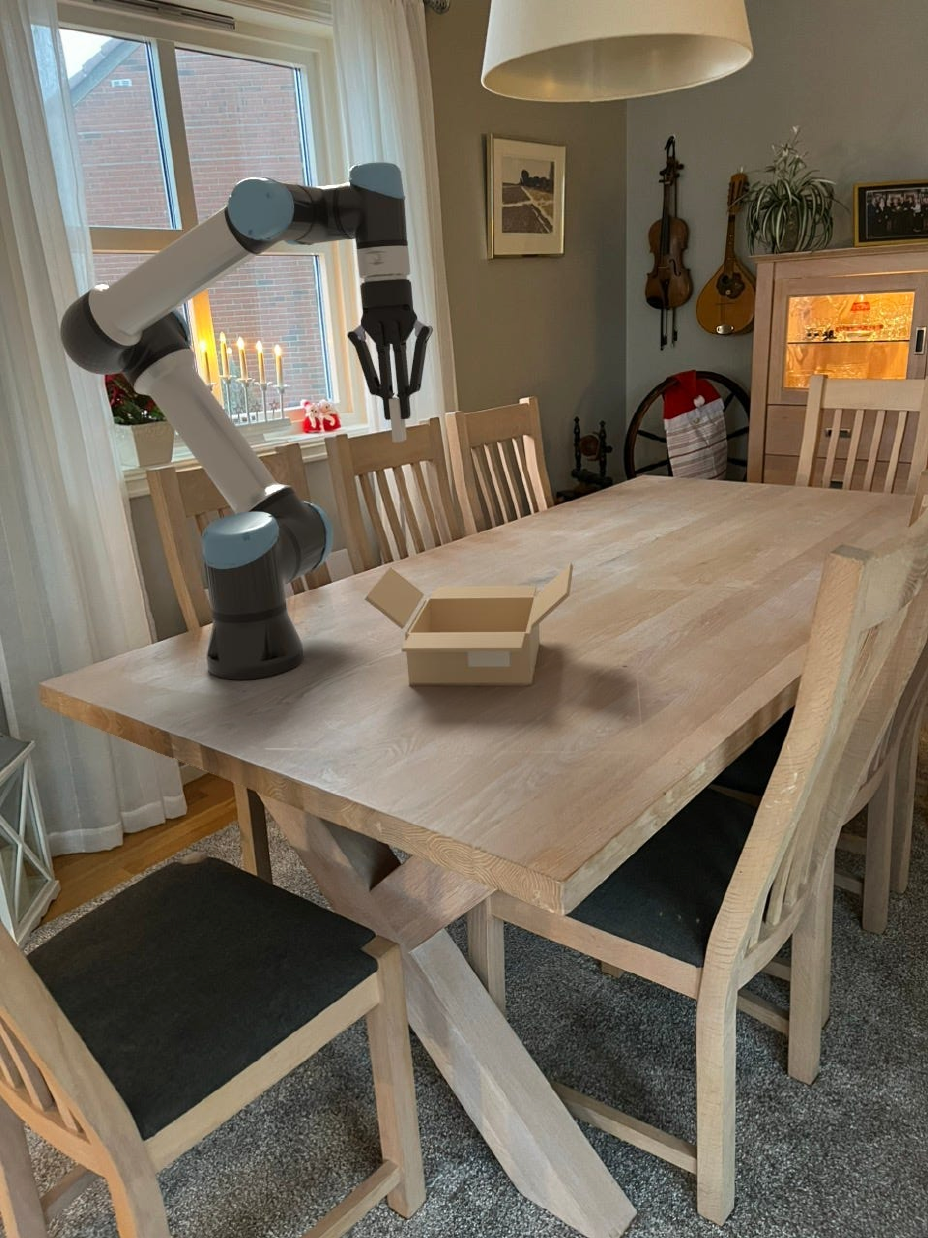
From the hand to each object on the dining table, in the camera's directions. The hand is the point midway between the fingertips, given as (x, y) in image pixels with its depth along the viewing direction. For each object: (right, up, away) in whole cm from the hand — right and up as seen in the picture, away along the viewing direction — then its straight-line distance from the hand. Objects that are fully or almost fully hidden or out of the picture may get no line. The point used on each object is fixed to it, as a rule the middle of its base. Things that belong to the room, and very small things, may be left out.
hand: (399, 440), depth 149 cm
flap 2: (+20, -26, -4) cm, 34 cm away
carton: (+12, -34, 0) cm, 36 cm away
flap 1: (+3, -26, -1) cm, 27 cm away
